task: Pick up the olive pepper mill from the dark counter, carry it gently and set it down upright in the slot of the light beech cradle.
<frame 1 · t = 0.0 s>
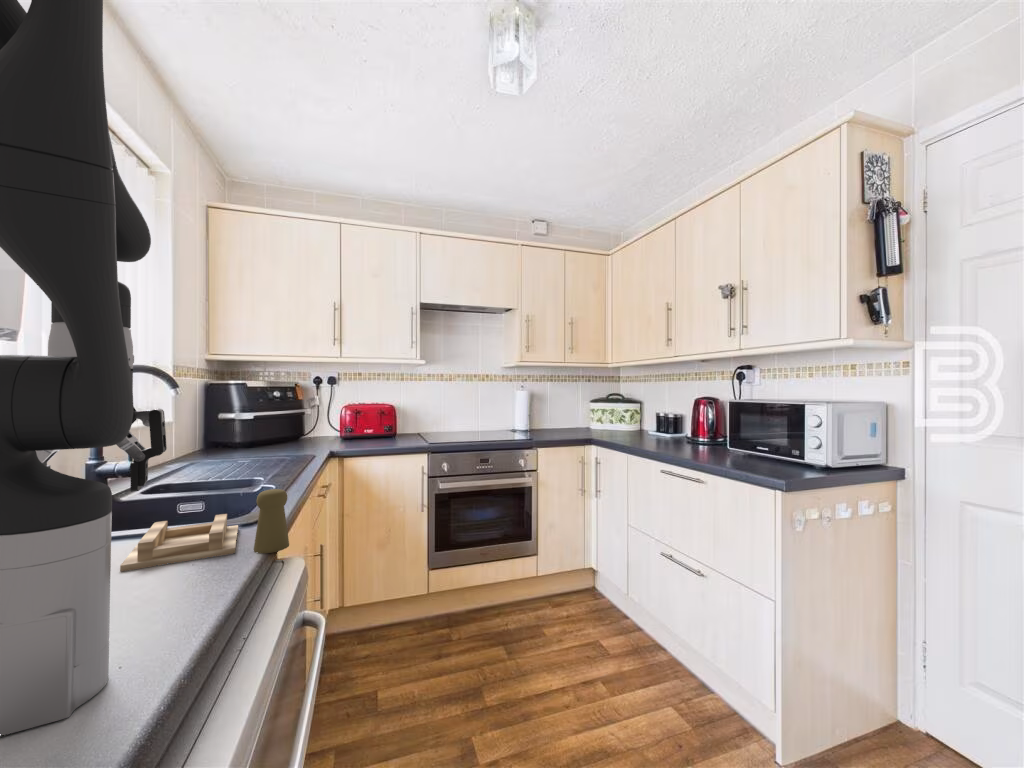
hand: (91, 493, 53), 17 cm above the counter, tool pointing down, fingers open, 8 cm apart
olive pepper mill: (271, 548, 83), on the counter
cradle: (187, 547, 82), on the counter
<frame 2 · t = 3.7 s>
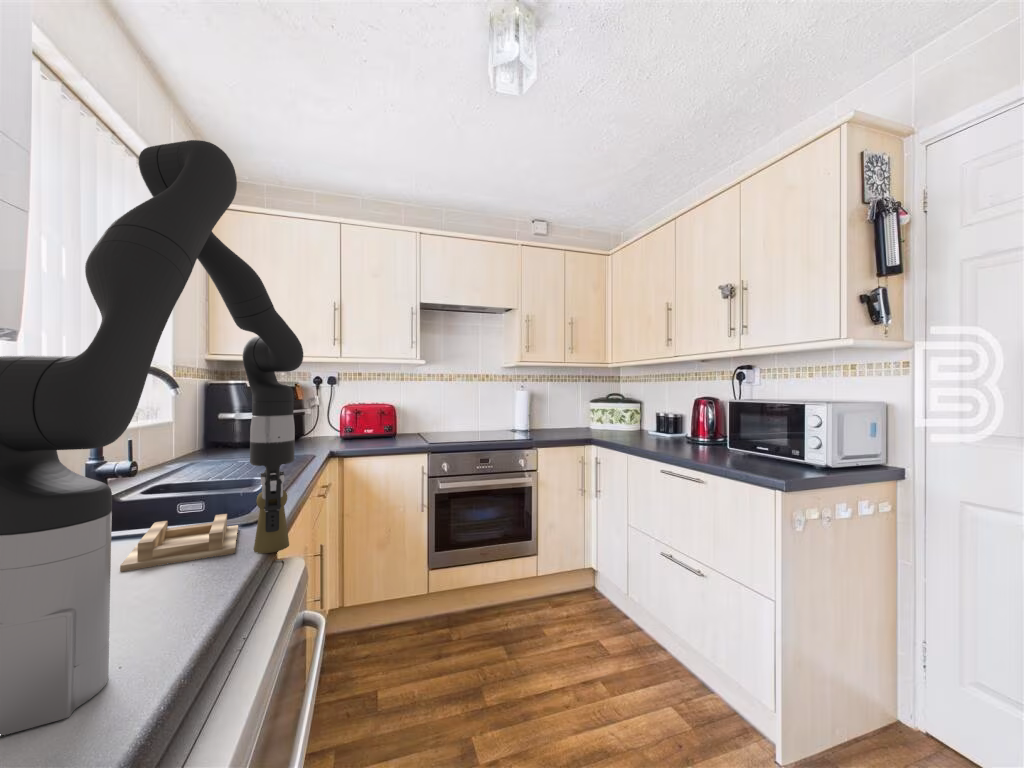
hand: (271, 527, 83), 4 cm above the counter, tool pointing down, fingers closed on olive pepper mill, 4 cm apart
olive pepper mill: (271, 548, 83), on the counter, touching gripper
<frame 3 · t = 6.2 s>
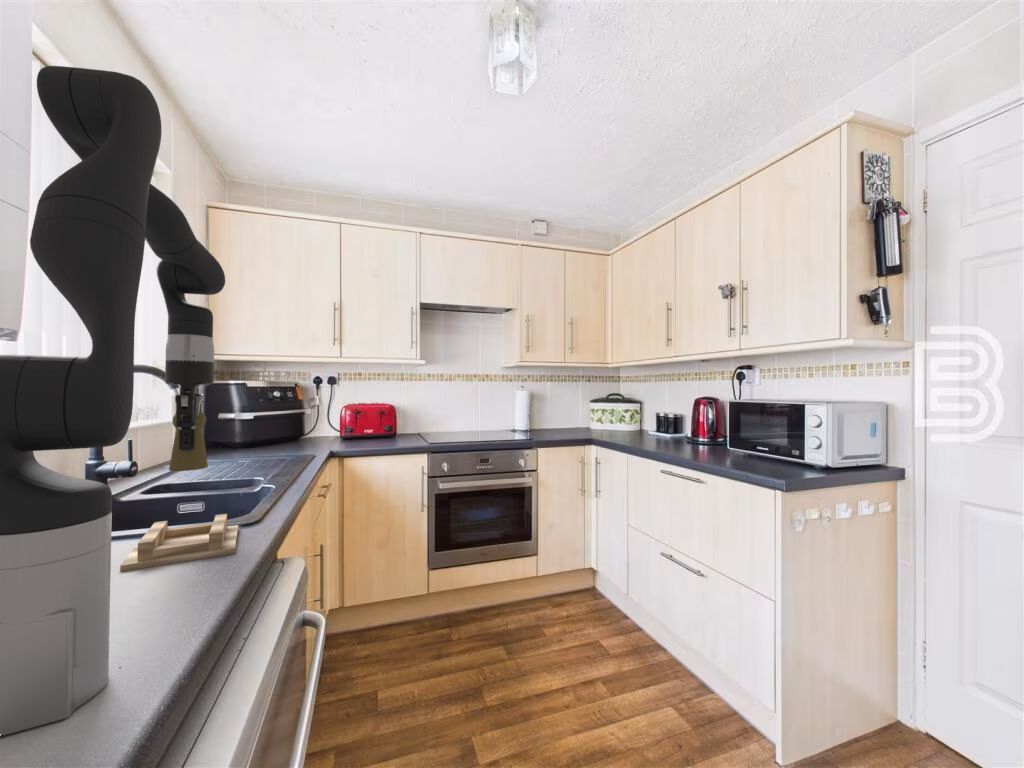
hand: (188, 448, 83), 19 cm above the counter, tool pointing down, fingers closed on olive pepper mill, 4 cm apart
olive pepper mill: (188, 469, 83), point 15 cm above the counter, touching gripper
when the fingers open (6 cm above the counter, at t = 9.0 s): olive pepper mill drops 1 cm, resting on cradle.
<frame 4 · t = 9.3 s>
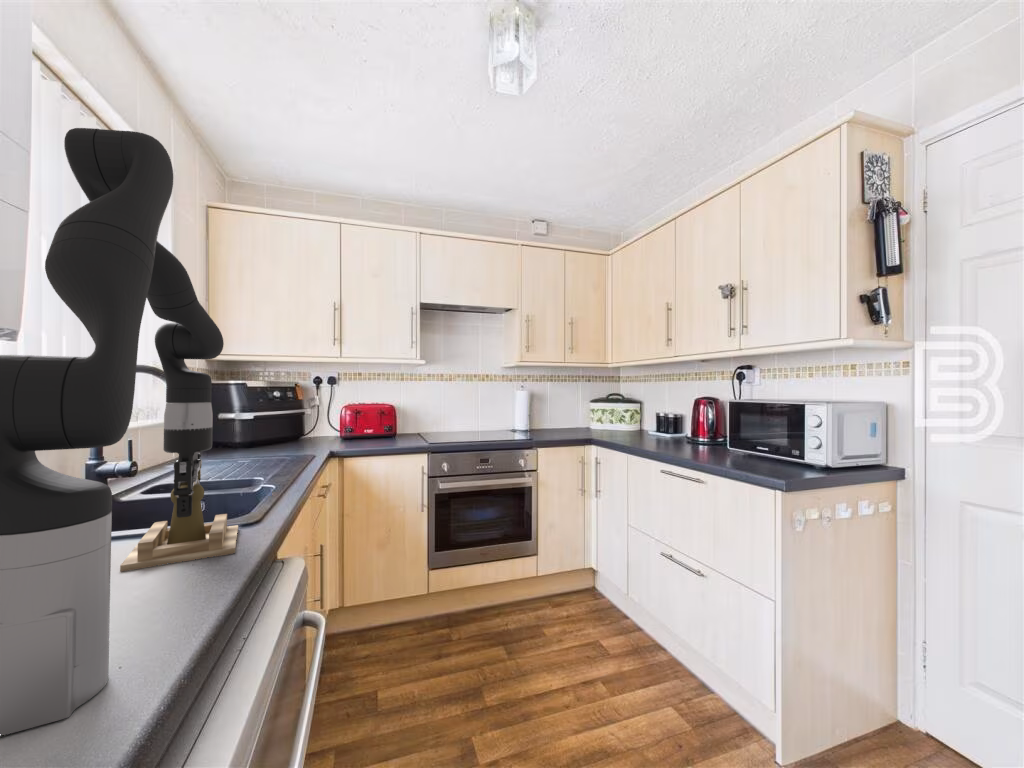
hand: (187, 511, 83), 7 cm above the counter, tool pointing down, fingers open, 7 cm apart
olive pepper mill: (186, 543, 82), point 1 cm above the counter, touching cradle
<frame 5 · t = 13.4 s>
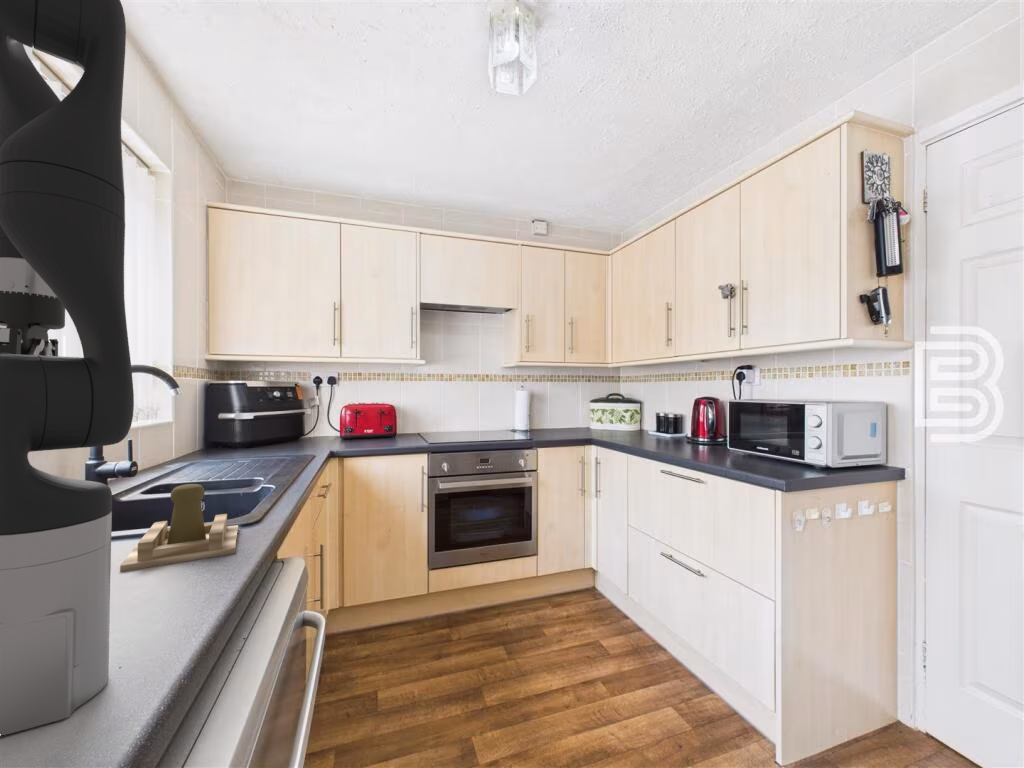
hand: (26, 403, 64), 28 cm above the counter, tool pointing down, fingers open, 8 cm apart
nothing on the counter moved.
at the end: olive pepper mill inside the target area on the cradle (0.0 cm from its centre), point 0.8 cm above the cradle's base; olive pepper mill tilted 0°; the gripper is holding nothing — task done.
